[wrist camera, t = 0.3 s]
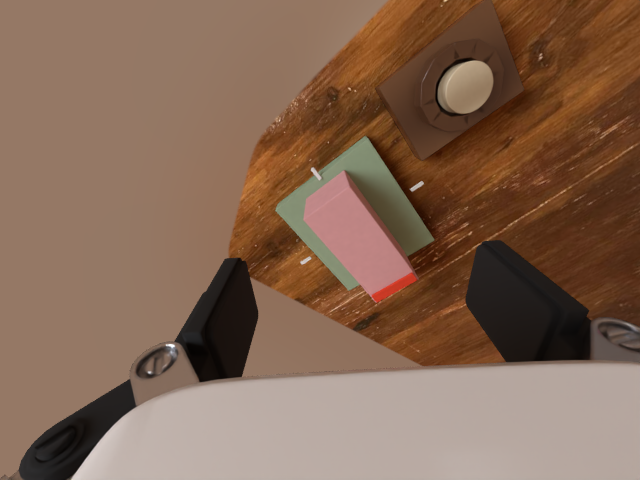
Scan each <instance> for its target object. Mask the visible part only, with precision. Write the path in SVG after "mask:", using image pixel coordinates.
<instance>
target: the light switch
mask: <svg viewBox="0 0 640 480" xmlns="http://www.w3.org/2000/svg"><path fill="white" fill-rule="evenodd" d="M469 61H481V62H484V63H485V64H487V65H488V66H489V68H490V69H491V71H492V74H493V88H492V91H491V93H490V96H489V97H488V99H487V100H486V102H485V103H484V104H483V105H482V106H481V107H480V108H478V109H477V110H475V111H473V112H471V113H467V114H459V113H452V112H448V111H446V110H445V109H443V108H442V106H441V105H440V103H439V101H438V86H439V83H440V81H441V79H442V77H443V76H444V74H445V73H446V72H447V71H448V70H449V69H450V68H451V67H453V66H455V65H457V64H460V63H464V62H469ZM375 90H376V92H377V93H378V95H379V97H380V98H381V100H382V102H383V103H384V105H385V107H386V108H387V110H388V112H389V113H390V115H391V117H392V118H393V120H394V122H395V124H396V125H397V127H398V129H399V130H400V132H401V134H402V135H403V137H404V139H405V140H406V142H407V144H408V145H409V147H410V149H411V150H412V152H413V154H414V156H415V157H417V158H418V159H420V160H421V161H423V160H424V159H426V158H427V157H429V156H430V155H432V154H433V153H435V152H436V151H437V150H439V149H440V148H442V147H443V146H445V145H446V144H448V143H449V142H450V141H452V140H453V139H455V138H456V137H458V136H459V135H461V134H462V133H463V132H465V131H466V130H468V129H469V128H471V127H472V126H473V125H475V124H476V123H478V122H479V121H481V120H482V119H484V118H485V117H486V116H488V115H489V114H491V113H492V112H494V111H495V110H497V109H498V108H499V107H501V106H502V105H504V104H505V103H507V102H508V101H510V100H511V99H512V98H514V97H515V96H517V95H518V94H520V93H521V92H522V91H524V87H523V85H522V82H521V79H520V77H519V74H518V71H517V68H516V66H515V63H514V60H513V57H512V55H511V52H510V49H509V46H508V44H507V41H506V38H505V35H504V33H503V30H502V27H501V25H500V22H499V19H498V16H497V14H496V11H495V8H494V5H493V3H492V0H482V1H481V2H479V3H477V4H476V5H474V6H473V7H472V8H471V9H470V10H468V11H467V12H466V13H465V14H463V15H462V16H461V17H460V18H459V19H457V20H456V21H455V22H454V23H453V24H451V25H450V26H449V27H448V28H447V29H445V30H444V31H443V32H442V33H441V34H439V35H438V36H437V37H436V38H435V39H433V40H432V41H431V42H430V43H428V44H427V45H426V46H425V47H424V48H422V49H421V50H420V51H419V52H418V53H416V54H415V55H414V56H413V57H412V58H410V59H409V60H408V61H407V62H406V63H404V64H403V65H402V66H401V67H400V68H398V69H397V70H396V71H395V72H394V73H392V74H391V75H390V76H389V77H387V78H386V79H385V80H384V81H383V82H381V83H380V84H379V85H378V86H377V87H375Z"/></svg>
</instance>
